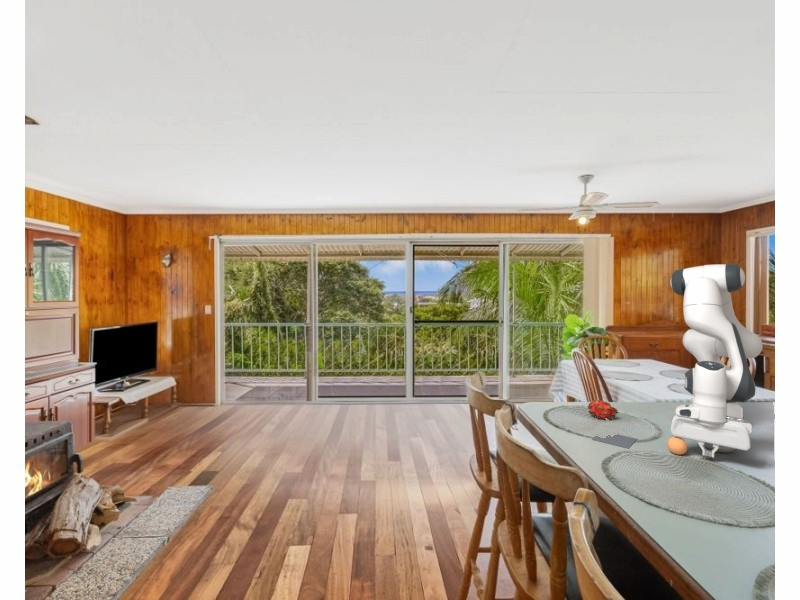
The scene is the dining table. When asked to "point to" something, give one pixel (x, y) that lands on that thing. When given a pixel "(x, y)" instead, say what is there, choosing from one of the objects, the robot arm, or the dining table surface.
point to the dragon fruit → (602, 409)
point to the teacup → (720, 449)
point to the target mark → (617, 440)
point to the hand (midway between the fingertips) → (708, 456)
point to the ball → (677, 445)
